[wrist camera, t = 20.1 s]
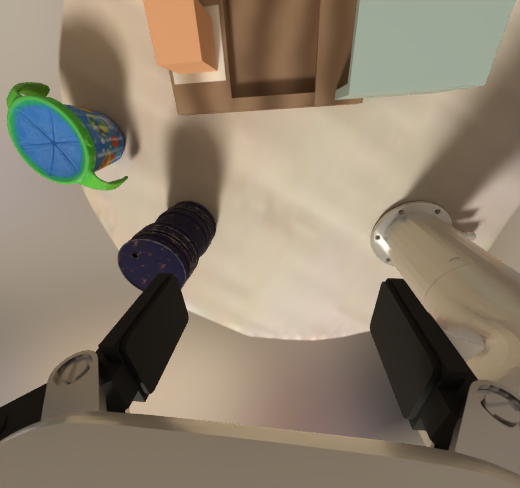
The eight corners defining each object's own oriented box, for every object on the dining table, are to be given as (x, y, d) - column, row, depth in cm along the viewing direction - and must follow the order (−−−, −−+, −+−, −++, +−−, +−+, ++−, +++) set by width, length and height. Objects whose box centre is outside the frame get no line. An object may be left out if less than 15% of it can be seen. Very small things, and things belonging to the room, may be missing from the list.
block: (211, 17, 26) (192, -8, 21) (217, 71, 28) (202, 60, 23) (171, 22, 27) (142, -1, 21) (180, 74, 29) (157, 65, 24)
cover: (484, -76, 21) (575, -166, 14) (436, 93, 27) (484, 85, 20) (349, -56, 22) (375, -129, 16) (334, 99, 28) (348, 94, 22)
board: (376, -47, 24) (387, -68, 22) (356, 104, 31) (362, 102, 28) (161, -17, 27) (147, -32, 25) (186, 115, 34) (177, 114, 31)
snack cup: (47, 106, 36) (-32, 103, 27) (88, 67, 33) (15, 48, 24) (116, 192, 42) (70, 212, 33) (157, 166, 39) (119, 181, 30)
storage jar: (227, 229, 43) (201, 276, 30) (194, 254, 47) (159, 306, 34) (189, 189, 40) (142, 224, 27) (157, 220, 44) (103, 262, 31)
